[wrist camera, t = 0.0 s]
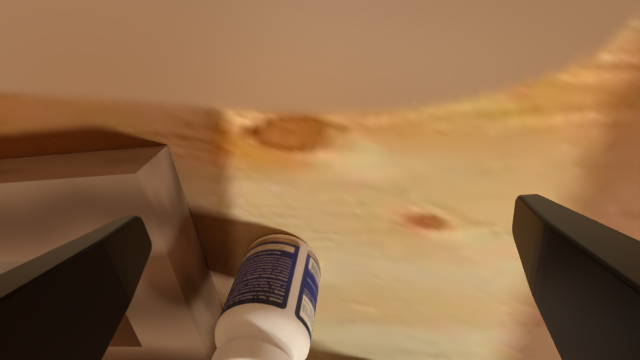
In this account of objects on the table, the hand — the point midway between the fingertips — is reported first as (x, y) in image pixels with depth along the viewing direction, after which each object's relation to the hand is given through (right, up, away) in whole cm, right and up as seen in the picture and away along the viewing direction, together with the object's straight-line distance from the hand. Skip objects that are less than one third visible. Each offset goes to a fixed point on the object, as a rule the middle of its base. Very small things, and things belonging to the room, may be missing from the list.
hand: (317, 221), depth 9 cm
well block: (-17, -6, +22) cm, 29 cm away
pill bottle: (-3, -5, +20) cm, 21 cm away
